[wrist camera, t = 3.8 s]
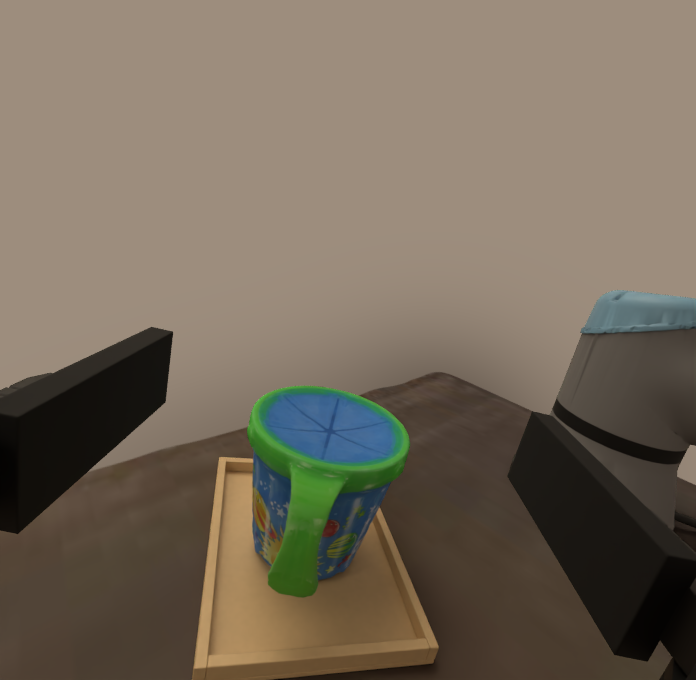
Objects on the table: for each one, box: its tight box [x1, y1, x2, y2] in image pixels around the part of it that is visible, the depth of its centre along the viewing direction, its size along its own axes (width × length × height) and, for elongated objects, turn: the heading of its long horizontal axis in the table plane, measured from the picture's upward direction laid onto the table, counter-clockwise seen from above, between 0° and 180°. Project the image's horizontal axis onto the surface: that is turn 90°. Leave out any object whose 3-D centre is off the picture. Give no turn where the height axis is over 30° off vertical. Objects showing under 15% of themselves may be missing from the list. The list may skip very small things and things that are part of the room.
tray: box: [192, 457, 439, 680], centre depth 29 cm, size 13×17×1 cm
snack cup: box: [247, 386, 410, 598], centre depth 28 cm, size 16×10×10 cm
